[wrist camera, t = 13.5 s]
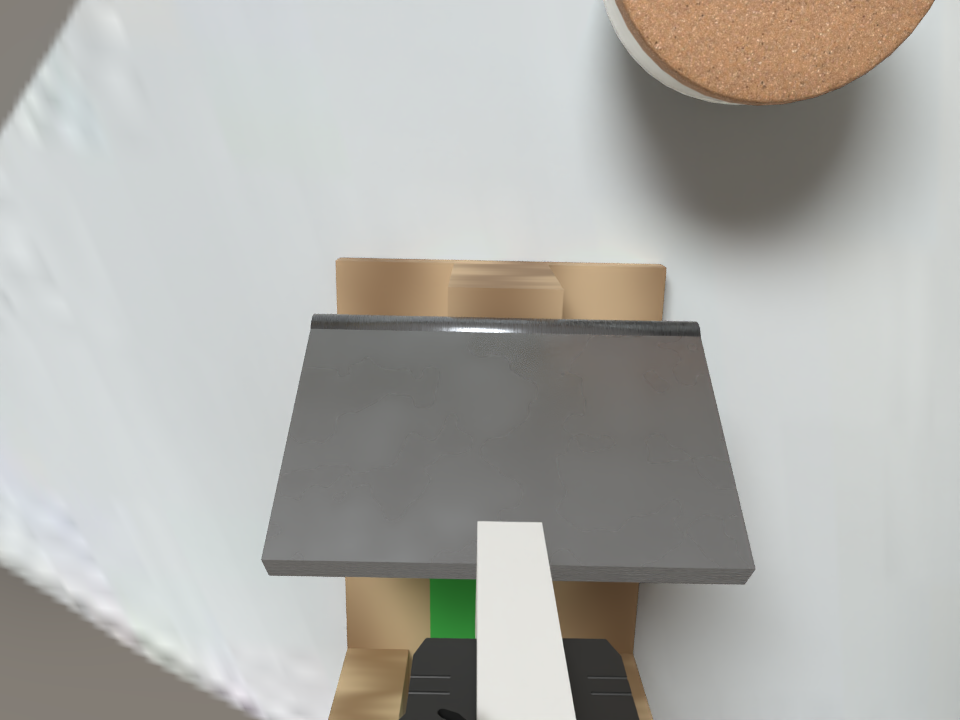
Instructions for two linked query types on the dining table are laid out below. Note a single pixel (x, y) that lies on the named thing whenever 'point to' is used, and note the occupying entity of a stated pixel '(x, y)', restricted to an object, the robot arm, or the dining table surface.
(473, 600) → the pipe clamp
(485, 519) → the plate
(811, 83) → the lidded jar
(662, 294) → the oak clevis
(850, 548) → the dining table surface
